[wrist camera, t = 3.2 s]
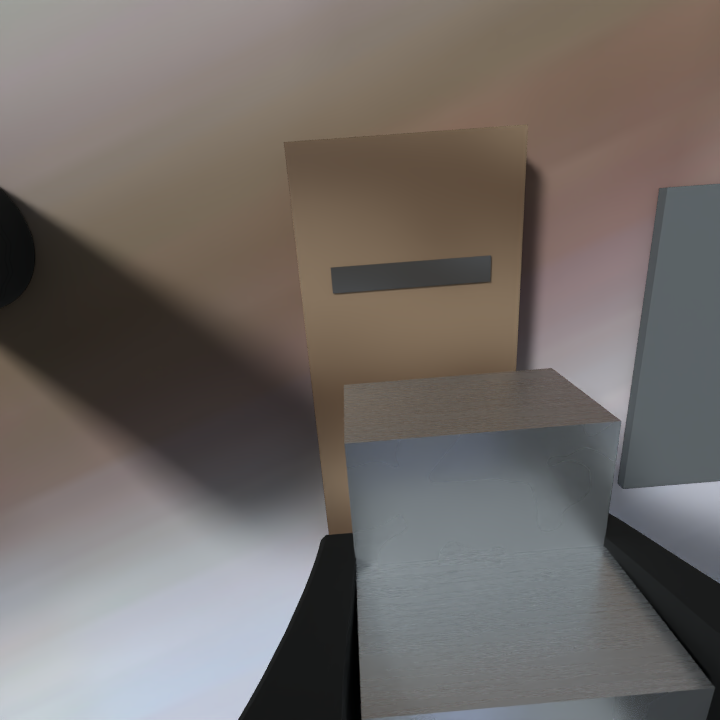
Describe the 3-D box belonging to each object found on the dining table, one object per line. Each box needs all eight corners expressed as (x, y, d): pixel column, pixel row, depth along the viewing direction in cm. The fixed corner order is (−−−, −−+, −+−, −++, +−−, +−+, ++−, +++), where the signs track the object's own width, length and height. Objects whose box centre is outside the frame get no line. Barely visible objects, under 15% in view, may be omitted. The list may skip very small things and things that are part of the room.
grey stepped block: (532, 612, 12) (660, 883, 7) (365, 627, 12) (381, 909, 7) (551, 368, 9) (759, 526, 5) (343, 384, 9) (345, 562, 5)
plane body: (489, 566, 20) (505, 605, 18) (338, 579, 20) (338, 619, 18) (503, 135, 14) (529, 123, 12) (291, 150, 14) (283, 141, 12)
